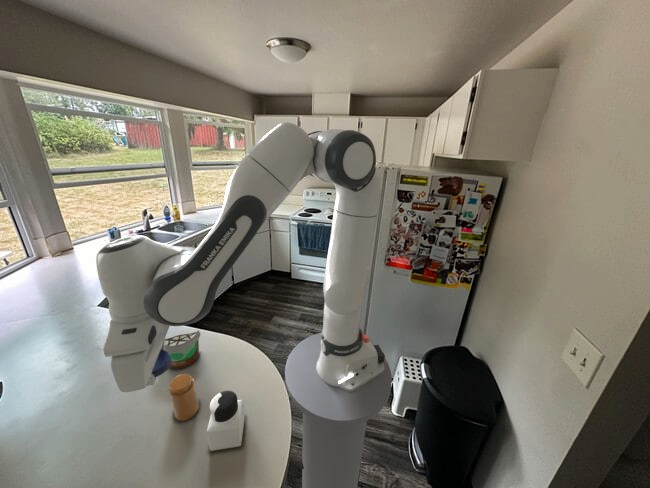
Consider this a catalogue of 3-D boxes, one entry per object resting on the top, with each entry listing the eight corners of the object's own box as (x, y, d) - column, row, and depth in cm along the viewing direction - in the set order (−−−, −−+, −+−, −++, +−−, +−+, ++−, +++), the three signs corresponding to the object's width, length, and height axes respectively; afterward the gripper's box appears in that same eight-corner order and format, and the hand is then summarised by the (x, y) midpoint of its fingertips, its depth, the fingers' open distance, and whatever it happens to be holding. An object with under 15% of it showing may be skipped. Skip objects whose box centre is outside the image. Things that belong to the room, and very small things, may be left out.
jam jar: (197, 396, 72) (191, 368, 68) (200, 413, 68) (194, 384, 64) (174, 406, 69) (167, 378, 65) (175, 425, 64) (168, 395, 61)
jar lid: (132, 382, 51) (130, 375, 50) (145, 358, 56) (143, 351, 56) (166, 376, 52) (164, 370, 52) (175, 354, 58) (173, 347, 57)
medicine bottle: (244, 417, 67) (241, 384, 63) (241, 446, 60) (236, 412, 56) (216, 421, 66) (211, 388, 61) (209, 451, 59) (203, 417, 55)
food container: (159, 377, 78) (153, 352, 74) (162, 362, 83) (156, 338, 79) (203, 364, 82) (199, 341, 79) (203, 351, 88) (199, 328, 84)
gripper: (141, 291, 58) (153, 338, 63) (96, 357, 40) (118, 417, 45) (172, 287, 60) (181, 334, 65) (143, 349, 42) (159, 407, 46)
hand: (155, 368), depth 54 cm, fingers closed on jar lid, 6 cm apart
